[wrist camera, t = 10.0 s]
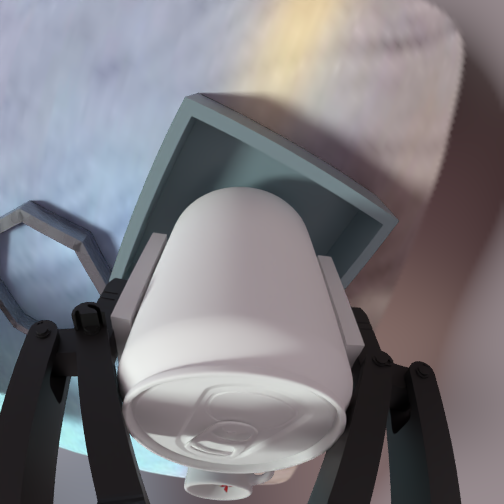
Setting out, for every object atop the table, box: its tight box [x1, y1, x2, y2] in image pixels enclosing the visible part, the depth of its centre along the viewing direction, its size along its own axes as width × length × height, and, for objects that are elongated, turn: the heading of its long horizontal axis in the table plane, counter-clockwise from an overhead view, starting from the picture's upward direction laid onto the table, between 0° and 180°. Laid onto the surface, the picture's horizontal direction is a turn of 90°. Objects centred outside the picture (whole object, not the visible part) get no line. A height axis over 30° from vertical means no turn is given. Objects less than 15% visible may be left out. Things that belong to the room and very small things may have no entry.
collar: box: [0, 201, 112, 335], centre depth 23 cm, size 14×14×2 cm
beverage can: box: [117, 187, 353, 474], centre depth 14 cm, size 8×8×12 cm
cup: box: [184, 467, 274, 500], centre depth 33 cm, size 11×8×8 cm
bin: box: [109, 93, 399, 290], centre depth 20 cm, size 13×13×4 cm
